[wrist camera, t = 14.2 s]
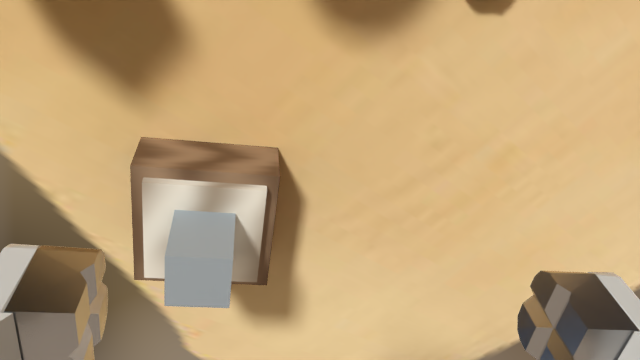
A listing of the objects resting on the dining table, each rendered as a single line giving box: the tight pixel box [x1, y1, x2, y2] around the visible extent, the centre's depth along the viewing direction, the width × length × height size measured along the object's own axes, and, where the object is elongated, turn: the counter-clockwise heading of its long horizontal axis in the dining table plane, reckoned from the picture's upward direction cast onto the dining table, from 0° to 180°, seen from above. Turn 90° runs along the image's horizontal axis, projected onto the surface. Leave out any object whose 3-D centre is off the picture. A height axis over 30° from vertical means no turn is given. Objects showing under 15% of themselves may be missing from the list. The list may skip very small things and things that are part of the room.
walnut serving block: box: [130, 137, 280, 285], centre depth 50 cm, size 12×12×6 cm
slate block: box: [165, 210, 236, 308], centre depth 45 cm, size 5×5×6 cm
